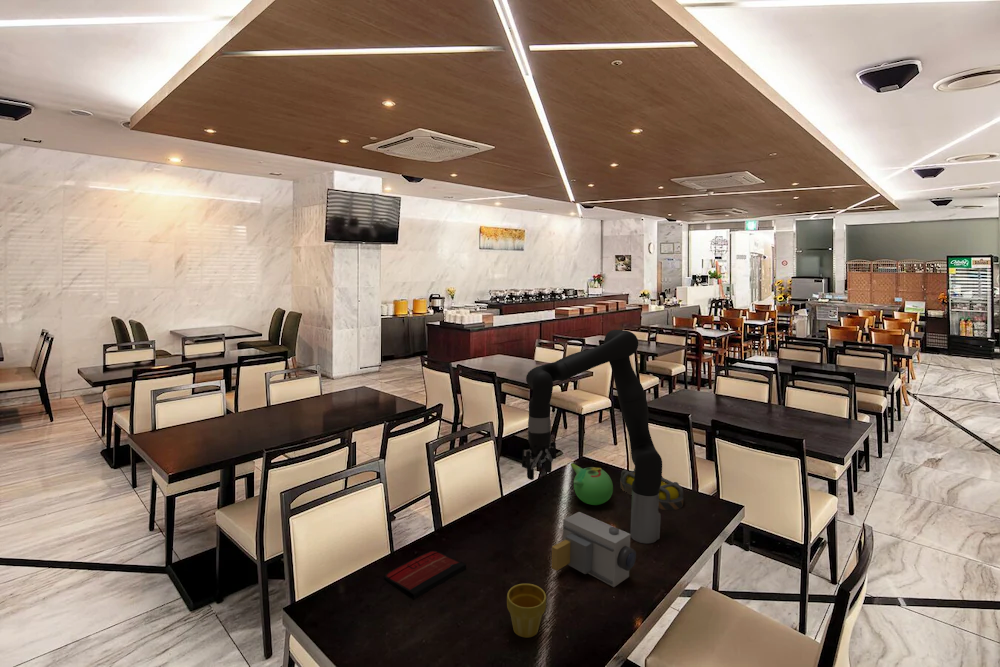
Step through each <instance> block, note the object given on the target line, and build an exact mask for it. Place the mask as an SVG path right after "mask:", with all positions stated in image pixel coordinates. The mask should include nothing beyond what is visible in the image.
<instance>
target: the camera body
mask: <svg viewBox="0 0 1000 667" xmlns="http://www.w3.org/2000/svg"><path fill="white" fill-rule="evenodd" d="M562 520H563V523H562V524H563V525H562V526H563V528H562V530H563V531H562V532H563V533H562V535H563V537H562V541H564V540H566V536H568V535H569V534H571V533H573V534H575V535H577V536H579V537H581V538H583V539H585V540H588V541H590V542H592V570H591V571H590V572H588V573H587V574H588V575H589V576H592V577H594V578H596V579H598V580H600V581H601V582H603V583H605V584H607V585H608V586H611V587H613V588H615V587H616V586H618V585H619V584H621V583H622V582H623V581H625V580H627V579H628V578H629V577H630V570H631V569H633V567H634V565H635V564H636V560H637V551H636V550H635V549H634V548H632V547H631V536H630V535H631V534H630V533H629V532H627V531H624V530H623V529H620V528H618V527H616V526H613V525H611V524H609V523H606V522H604V521H602V520H600V519H599V520H598V519H597V518H594V517H592V516H590V515H588V514H585V513H583V512H581V511H578V512H576V513H574V514H572V515H570V516H567V517H565V518H563V519H562Z"/></svg>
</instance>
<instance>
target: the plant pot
mask: <svg viewBox="0 0 1000 667" xmlns="http://www.w3.org/2000/svg"><path fill="white" fill-rule="evenodd" d="M546 607H547V593H546V592H545V591H544V590H543V589H542V588H541V587H540V586H538V585H536V584H532V583H519V584H515V585H513V586H512V587H510V589H509V590H508V591H507V594H506V608H507V611H508V612H509V614H510V617H511V618H510V620H511V624H512V628H513V629H512V630H513V632H514V633H515V634H516V636H518V637H522V638H532V637H535V636H536V635H537V634H538V632H539V630H540V629H539V628H540V625H541V620H542V616H543V614H544V613H545V611H546V610H547V608H546Z"/></svg>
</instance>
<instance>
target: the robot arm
mask: <svg viewBox="0 0 1000 667" xmlns="http://www.w3.org/2000/svg"><path fill="white" fill-rule="evenodd" d="M638 348H639V339H638V337H637V336H636V334H634V333H633V332H632V331H629V330H626V329H623V330H622V329H612V330H610V331H608V332H607V333H606V334H605V336H604V338H603V343H602V344H600V345H598V346H594V347H593V348H589V349H585V350H581V351H578V352H575V353H571V354H569V355H567V356H564V357H563V358H560V359H558V360H556V361H553V362H548V363H544V364H542V365H537V366H536V367H534V368H532V369H530V370H529V371H528V372H527V374H526V376H525V381H526V383H527V385H528V386H529V387H530V388H531V389H532V394H531V396H532V397H531V398H530V399H529V401H528V420H527V434H528V435H527V442H528V444H529V449H522V455H521V456H522V458H521V460H522V461H521V467H522V468H524V469H526V478H527V479H528V480H531V481H533V480H535V470H534V468H535V466H536V464H538V462H539V461H540V460H542V459H544V460H545V461H544V471H545V473H549V474H550V473H552V466H553V464H552V463H553V461H554V459H557V444H556V442H555V441H553V440H552V431H551V430H552V424H551V423H552V422H551V399H552V397H553V396H552V395H553V389H554V382H558V381H559V382H564V381H566V380H569V379H571V378H574V377H576V376H578V375H580V374H582V373H584V372H586V371H589V370H592V369H594V368H596V367H598V366H602V365H604V364H607V363H609V365H610V368H611V371H612V375H613V380H614V385H615V390H616V393H617V394H616V395H617V399H618V403H619V407H620V411H621V414H622V418H623V422H624V424H625V427H626V429H627V433H628V438H629V446H630V454H631V457H630V458H631V460H632V463H633V465H634V468H635V476H634V481H633V483H632V496H631V502H630V503H631V505H630V506H631V507H630V508H631V509H630V530H629V531H630V533H629V534H631V535H630V539H632V540H633V541H635V542H637V543H640V544H653V543H655V542H656V541H658V540H660V535H661V519H662V517H661V512H659V509H658V506H659V488H660V486H661V479H662V477H663V476H662V475H663V459H662V457H661V455H660V454H659V452H658V451H657V449H656V447H655V444H654V443H653V442H654V441H653V439H652V435H651V433H650V428H649V427H650V426H649V416H650V415H649V414H650V413H649V405H648V400H647V396H646V392H645V389H644V387H643V385H642V383H641V381H640V379H639V378H638V376H637V374H636V372H635V370H634V369H633V366H632V362H631V358H630V357H631V356H632V355H634V354H635V353H636V351H637V350H638Z"/></svg>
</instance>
